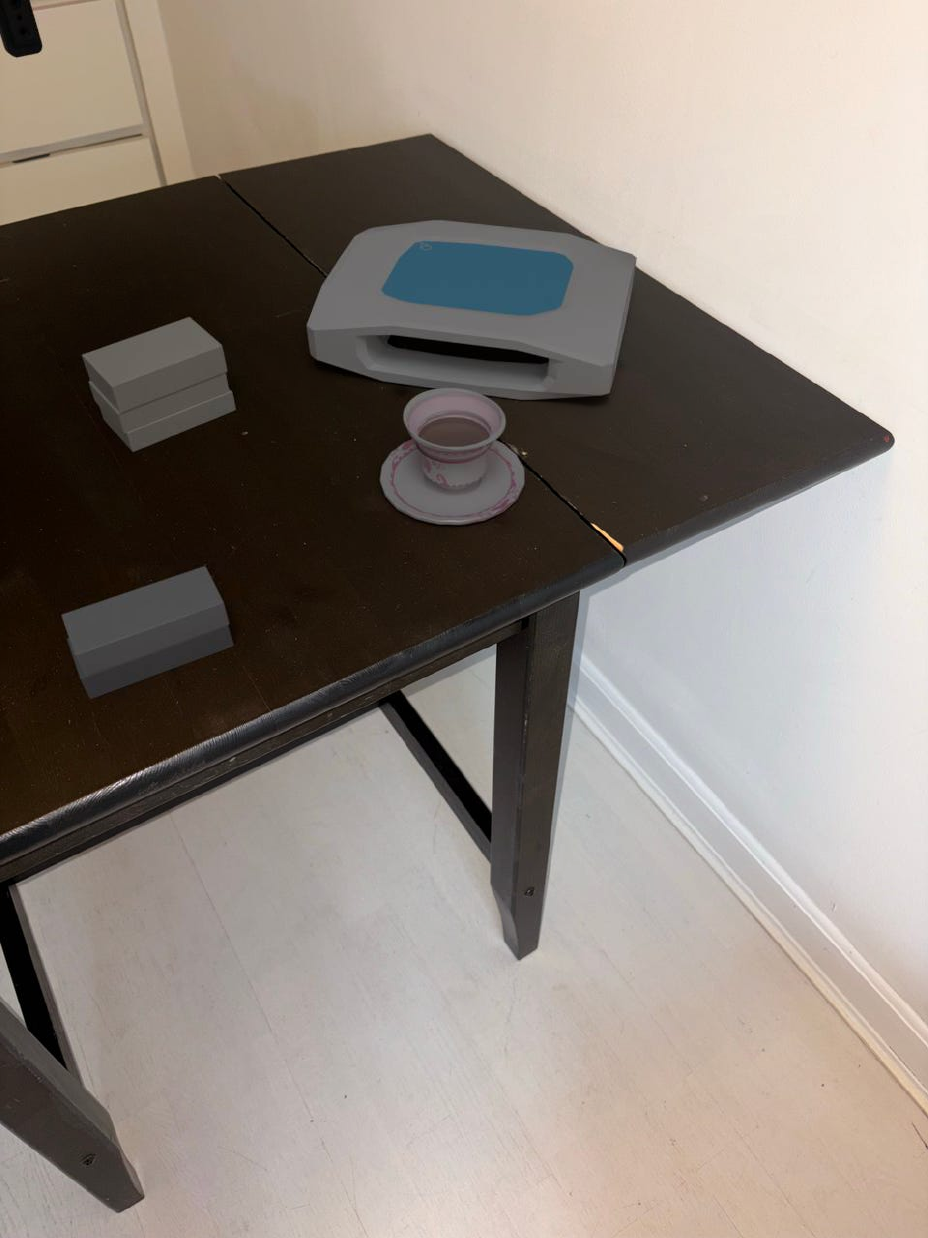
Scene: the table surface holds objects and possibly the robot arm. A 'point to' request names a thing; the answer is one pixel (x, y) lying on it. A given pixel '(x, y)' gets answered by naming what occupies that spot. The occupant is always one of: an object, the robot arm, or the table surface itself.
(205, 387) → the grey block
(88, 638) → the gray block
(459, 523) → the teacup
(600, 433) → the table surface
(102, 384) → the light grey rectangular block
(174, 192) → the table surface
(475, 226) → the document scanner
